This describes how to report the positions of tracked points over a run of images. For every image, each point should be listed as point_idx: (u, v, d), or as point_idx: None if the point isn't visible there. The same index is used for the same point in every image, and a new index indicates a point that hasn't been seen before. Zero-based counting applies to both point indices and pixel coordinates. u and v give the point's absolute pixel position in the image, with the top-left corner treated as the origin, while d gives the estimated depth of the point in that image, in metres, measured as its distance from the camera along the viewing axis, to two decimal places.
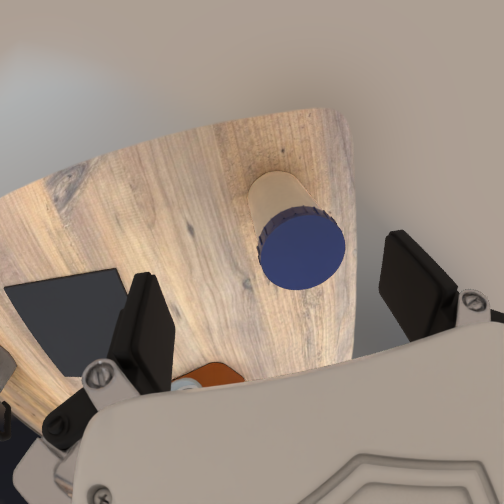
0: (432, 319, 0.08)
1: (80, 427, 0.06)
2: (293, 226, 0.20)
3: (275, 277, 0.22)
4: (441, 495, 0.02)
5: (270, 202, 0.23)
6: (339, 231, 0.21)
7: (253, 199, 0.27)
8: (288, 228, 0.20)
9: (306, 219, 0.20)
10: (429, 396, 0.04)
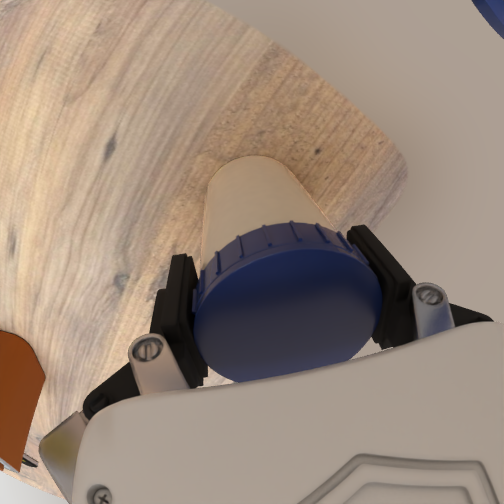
0: (387, 312, 0.09)
1: None
2: (333, 271, 0.08)
3: (208, 336, 0.09)
4: (441, 495, 0.02)
5: (284, 195, 0.11)
6: (372, 330, 0.10)
7: (239, 173, 0.14)
8: (322, 267, 0.08)
9: (361, 276, 0.08)
10: (429, 396, 0.04)
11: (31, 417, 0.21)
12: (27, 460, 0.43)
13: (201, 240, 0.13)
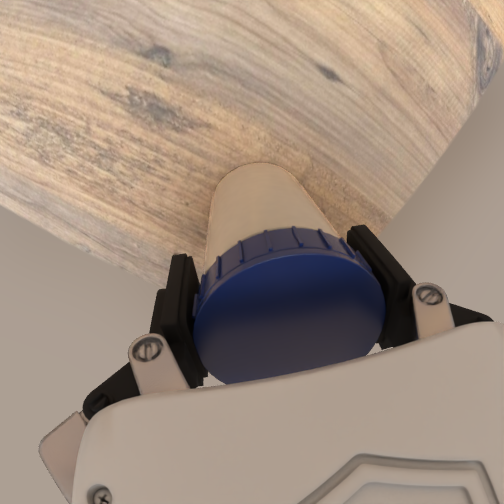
0: (387, 312, 0.09)
1: None
2: (334, 277, 0.08)
3: (208, 341, 0.09)
4: (441, 495, 0.02)
5: None
6: (375, 338, 0.10)
7: None
8: (324, 273, 0.08)
9: (363, 282, 0.08)
10: (429, 396, 0.04)
11: None
12: None
13: (284, 190, 0.13)
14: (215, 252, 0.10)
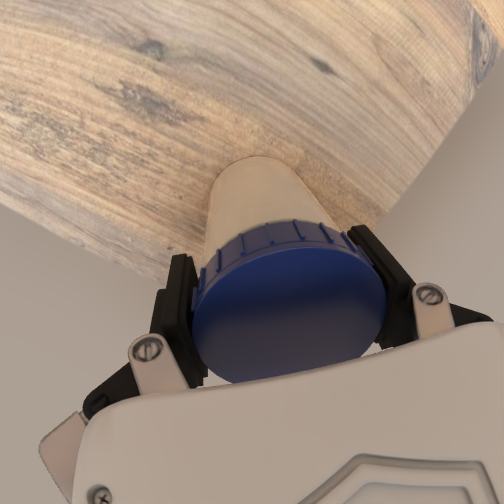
0: (388, 312, 0.09)
1: None
2: (216, 316, 0.08)
3: None
4: (441, 495, 0.02)
5: None
6: (321, 251, 0.08)
7: None
8: (212, 325, 0.09)
9: (223, 290, 0.08)
10: (429, 396, 0.04)
11: None
12: None
13: (279, 183, 0.12)
14: (211, 248, 0.10)
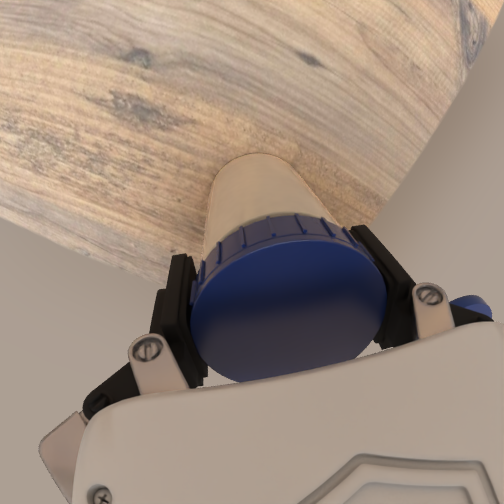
0: (388, 312, 0.09)
1: None
2: (259, 377, 0.10)
3: (369, 327, 0.09)
4: (441, 495, 0.02)
5: None
6: (194, 323, 0.09)
7: None
8: None
9: (232, 374, 0.10)
10: (429, 396, 0.04)
11: None
12: None
13: (270, 178, 0.12)
14: (206, 249, 0.10)
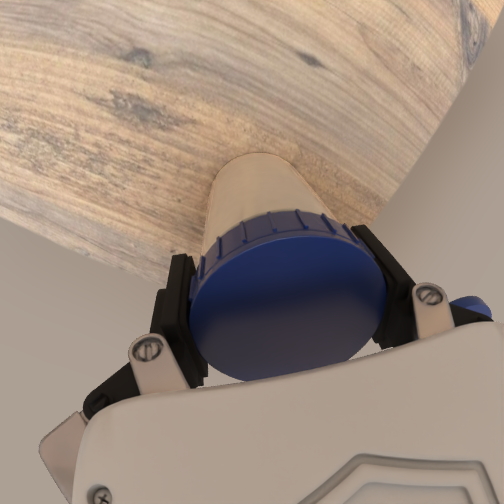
0: (387, 312, 0.09)
1: None
2: (354, 341, 0.10)
3: (313, 251, 0.08)
4: (441, 495, 0.02)
5: None
6: None
7: None
8: (360, 334, 0.10)
9: (340, 359, 0.10)
10: (429, 396, 0.04)
11: None
12: None
13: (269, 176, 0.12)
14: (204, 248, 0.10)
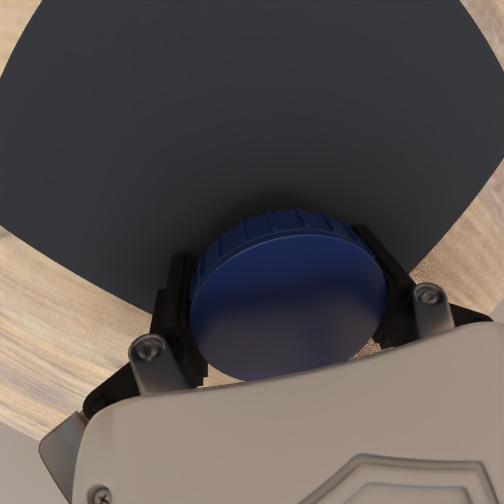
0: (387, 312, 0.09)
1: None
2: (354, 341, 0.10)
3: (313, 251, 0.08)
4: (441, 495, 0.02)
5: None
6: None
7: None
8: (360, 334, 0.10)
9: (341, 359, 0.10)
10: (429, 396, 0.04)
11: None
12: None
13: None
14: None
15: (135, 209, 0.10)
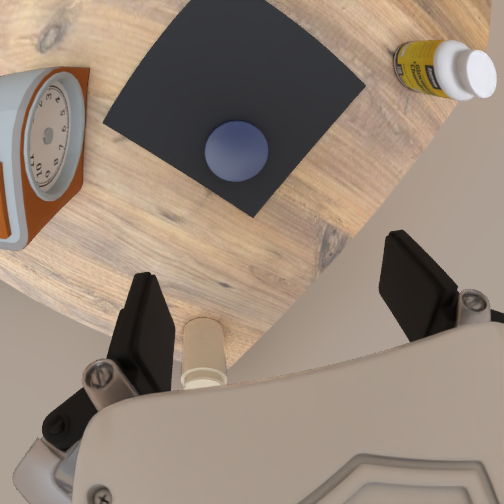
0: (432, 319, 0.08)
1: (80, 427, 0.06)
2: (259, 161, 0.29)
3: (239, 125, 0.27)
4: (441, 495, 0.02)
5: None
6: (231, 180, 0.30)
7: (221, 340, 0.40)
8: (261, 158, 0.29)
9: (256, 170, 0.30)
10: (429, 396, 0.04)
11: None
12: None
13: (202, 345, 0.37)
14: (182, 371, 0.35)
15: (185, 127, 0.28)
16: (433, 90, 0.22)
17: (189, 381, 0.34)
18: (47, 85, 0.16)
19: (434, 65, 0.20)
